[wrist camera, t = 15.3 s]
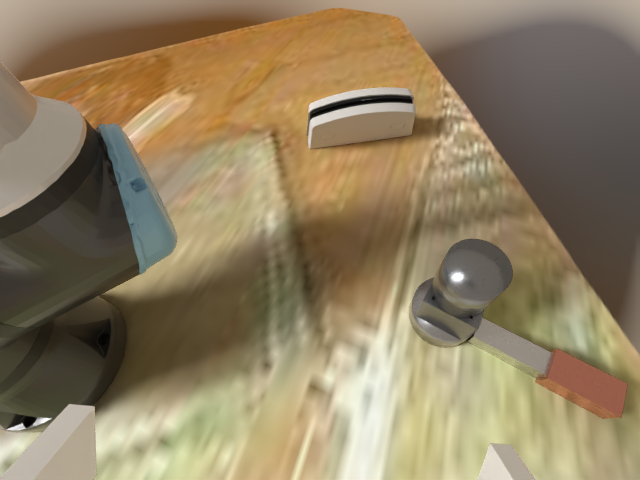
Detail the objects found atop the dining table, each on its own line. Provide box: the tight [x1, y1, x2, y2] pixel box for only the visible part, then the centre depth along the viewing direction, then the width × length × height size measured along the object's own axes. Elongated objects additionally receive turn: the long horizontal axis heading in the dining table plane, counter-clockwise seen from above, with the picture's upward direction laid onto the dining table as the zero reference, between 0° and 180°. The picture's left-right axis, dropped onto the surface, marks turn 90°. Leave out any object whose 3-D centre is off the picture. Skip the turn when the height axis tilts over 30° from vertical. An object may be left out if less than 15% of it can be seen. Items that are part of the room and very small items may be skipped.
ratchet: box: [409, 278, 628, 419], centre depth 32 cm, size 20×7×6 cm, turn 58°
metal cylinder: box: [415, 239, 513, 341], centre depth 30 cm, size 5×5×10 cm
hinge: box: [307, 88, 416, 149], centre depth 49 cm, size 17×5×10 cm, turn 96°
